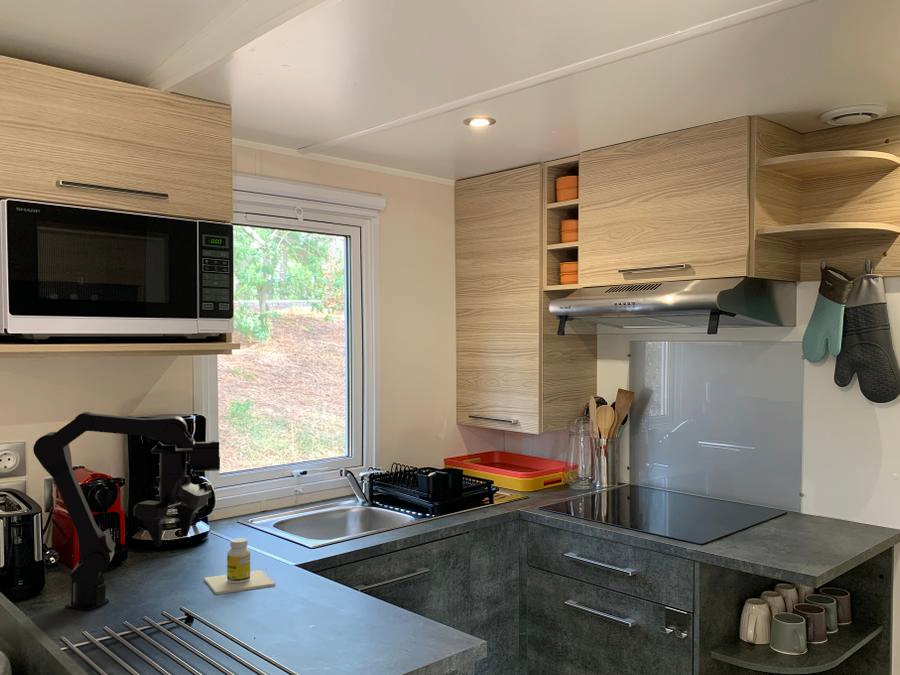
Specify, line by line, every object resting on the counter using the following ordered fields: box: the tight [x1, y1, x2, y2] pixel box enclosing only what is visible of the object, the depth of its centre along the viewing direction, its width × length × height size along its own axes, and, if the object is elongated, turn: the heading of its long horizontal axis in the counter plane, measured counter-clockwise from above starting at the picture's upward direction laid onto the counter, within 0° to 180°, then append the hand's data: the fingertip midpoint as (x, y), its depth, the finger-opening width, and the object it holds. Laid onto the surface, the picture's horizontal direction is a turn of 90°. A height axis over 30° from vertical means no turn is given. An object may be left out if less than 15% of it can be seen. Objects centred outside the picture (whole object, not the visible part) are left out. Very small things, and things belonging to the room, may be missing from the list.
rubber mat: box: [203, 569, 276, 595], centre depth 184 cm, size 14×12×1 cm
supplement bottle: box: [226, 537, 251, 583], centre depth 184 cm, size 5×5×10 cm
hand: (171, 540), depth 173 cm, fingers open, 9 cm apart
